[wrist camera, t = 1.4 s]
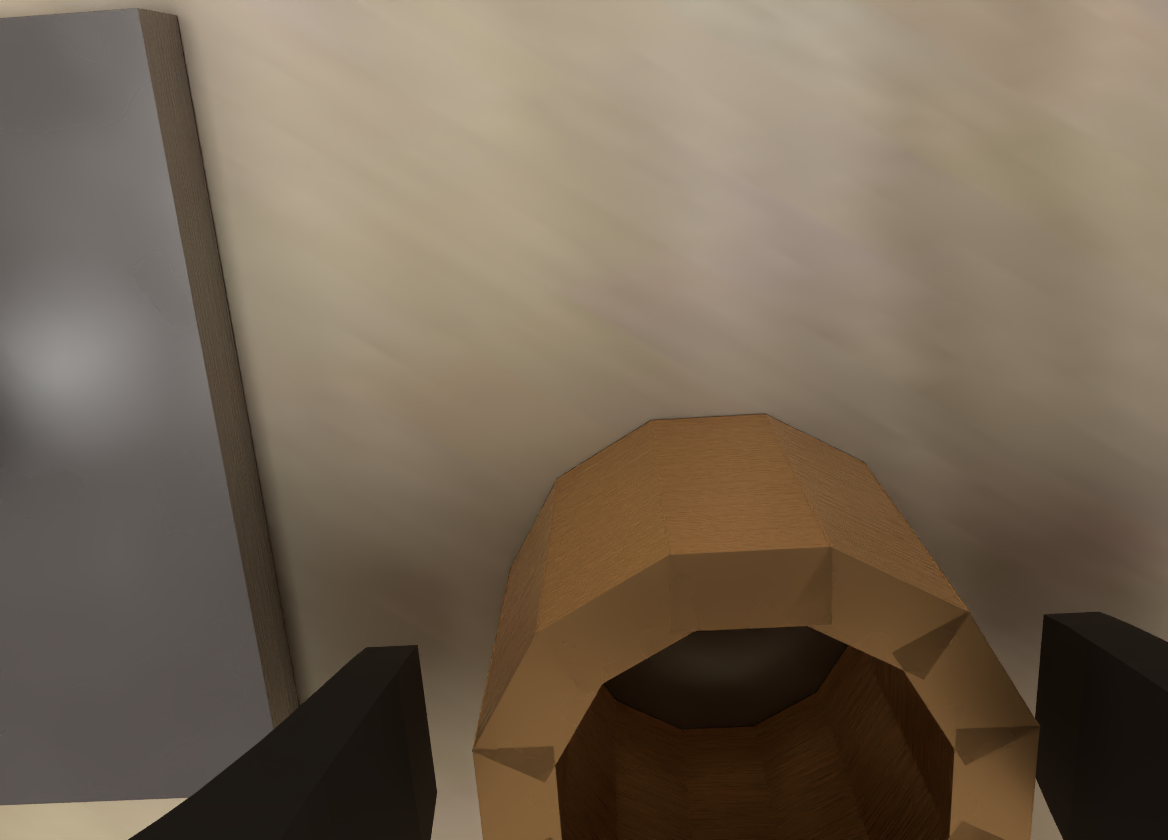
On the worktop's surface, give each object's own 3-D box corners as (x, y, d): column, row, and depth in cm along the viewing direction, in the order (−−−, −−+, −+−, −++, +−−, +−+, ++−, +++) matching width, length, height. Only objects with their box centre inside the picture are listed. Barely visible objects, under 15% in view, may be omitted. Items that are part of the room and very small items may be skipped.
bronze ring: (923, 404, 13) (1056, 535, 9) (908, 767, 14) (1015, 1005, 11) (495, 429, 13) (450, 564, 9) (531, 782, 15) (504, 1021, 11)
